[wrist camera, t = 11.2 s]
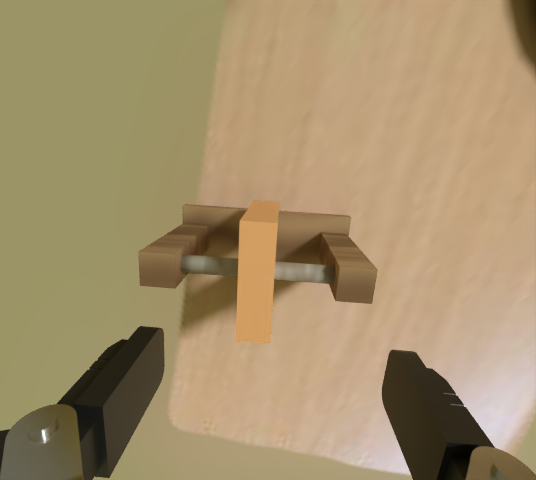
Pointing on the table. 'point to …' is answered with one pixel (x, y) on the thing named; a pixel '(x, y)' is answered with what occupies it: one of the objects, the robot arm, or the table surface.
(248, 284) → the orange block
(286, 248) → the rail
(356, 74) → the table surface
